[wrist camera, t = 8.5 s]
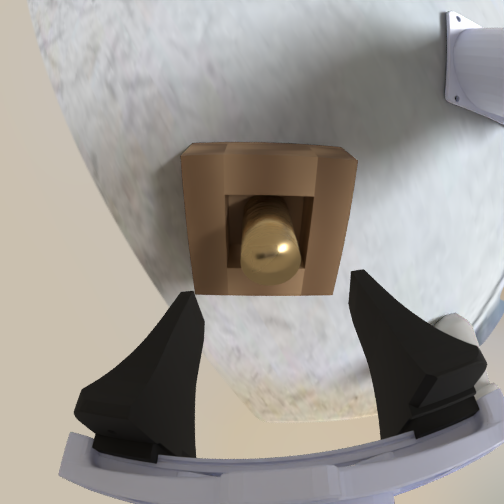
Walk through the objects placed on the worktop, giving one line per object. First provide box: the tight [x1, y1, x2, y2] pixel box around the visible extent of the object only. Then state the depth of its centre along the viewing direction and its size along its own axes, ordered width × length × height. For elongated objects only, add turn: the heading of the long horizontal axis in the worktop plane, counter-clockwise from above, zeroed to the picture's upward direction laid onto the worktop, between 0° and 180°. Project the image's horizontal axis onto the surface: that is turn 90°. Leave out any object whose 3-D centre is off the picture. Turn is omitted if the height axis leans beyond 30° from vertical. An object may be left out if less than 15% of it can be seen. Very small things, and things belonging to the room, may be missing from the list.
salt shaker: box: [434, 313, 499, 401], centre depth 23 cm, size 6×6×13 cm
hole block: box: [181, 142, 358, 296], centre depth 19 cm, size 10×10×4 cm
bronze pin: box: [241, 195, 301, 286], centre depth 18 cm, size 3×3×6 cm
